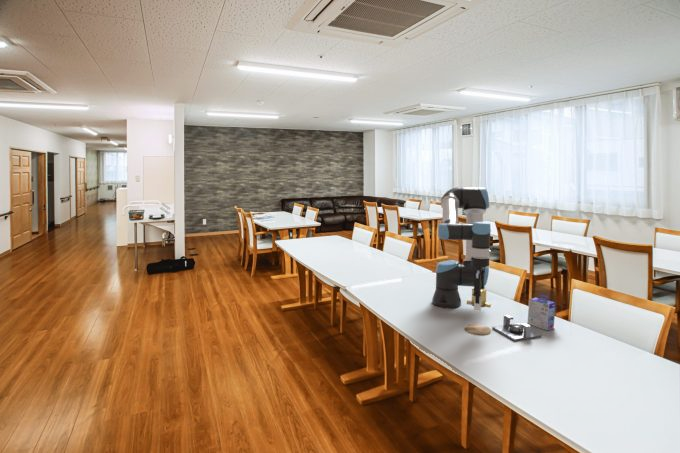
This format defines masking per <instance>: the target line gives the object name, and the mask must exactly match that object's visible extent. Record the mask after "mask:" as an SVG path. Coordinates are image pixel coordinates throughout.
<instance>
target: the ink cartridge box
mask: <svg viewBox="0 0 680 453" xmlns="http://www.w3.org/2000/svg"><path fill="white" fill-rule="evenodd" d="M548 298H549V296H548V295H545V294H542V293H541V294H540V295H539V296H538V297H532V298H529V299H528V300H529V301H528V312H527V313H528V314H527V322H526V324H528V325H530V326H534V327H536V328H539V329H543V330H545V331H549V330H553V329H555V316H556V302H554V301H550V300H548Z"/></svg>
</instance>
